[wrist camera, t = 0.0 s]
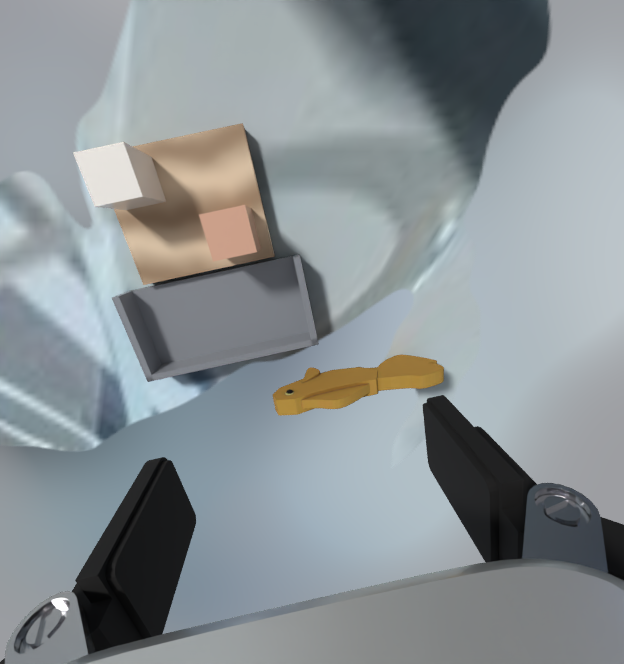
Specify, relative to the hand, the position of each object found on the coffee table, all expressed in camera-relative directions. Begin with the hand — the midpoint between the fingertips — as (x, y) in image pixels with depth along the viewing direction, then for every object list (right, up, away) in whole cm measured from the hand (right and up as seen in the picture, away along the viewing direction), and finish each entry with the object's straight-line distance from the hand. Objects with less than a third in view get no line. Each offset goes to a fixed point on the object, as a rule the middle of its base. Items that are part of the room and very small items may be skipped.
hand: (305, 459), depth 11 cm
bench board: (-14, +19, +25) cm, 35 cm away
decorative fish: (+6, -1, +34) cm, 35 cm away
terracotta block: (-8, +16, +25) cm, 31 cm away
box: (-11, +7, +30) cm, 32 cm away
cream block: (-19, +21, +22) cm, 36 cm away
